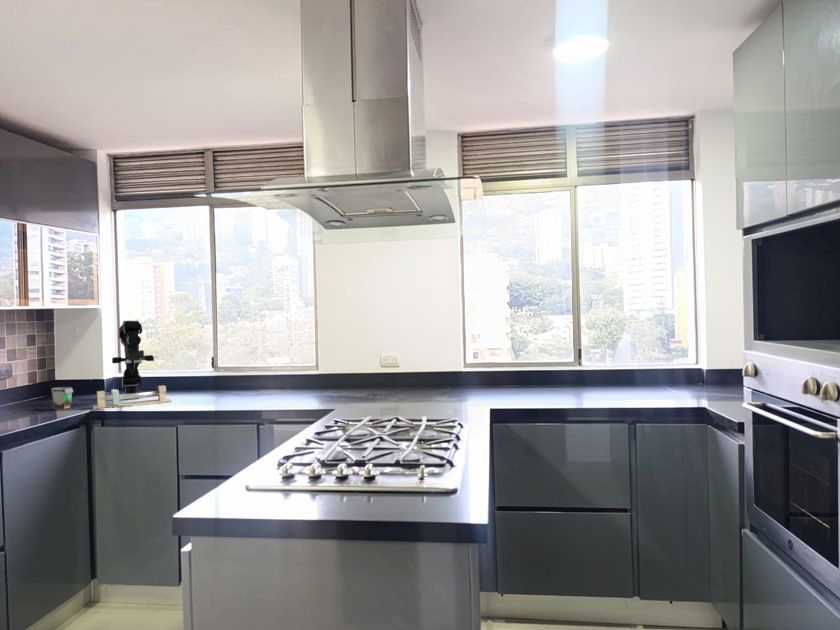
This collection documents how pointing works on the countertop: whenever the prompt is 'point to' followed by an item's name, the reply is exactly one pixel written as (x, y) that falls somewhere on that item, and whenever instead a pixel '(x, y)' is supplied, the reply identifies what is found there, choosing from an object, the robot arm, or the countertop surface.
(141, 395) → the pipe
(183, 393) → the countertop surface
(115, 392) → the collar
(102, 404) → the beige cradle stand
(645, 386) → the countertop surface
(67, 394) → the food container
